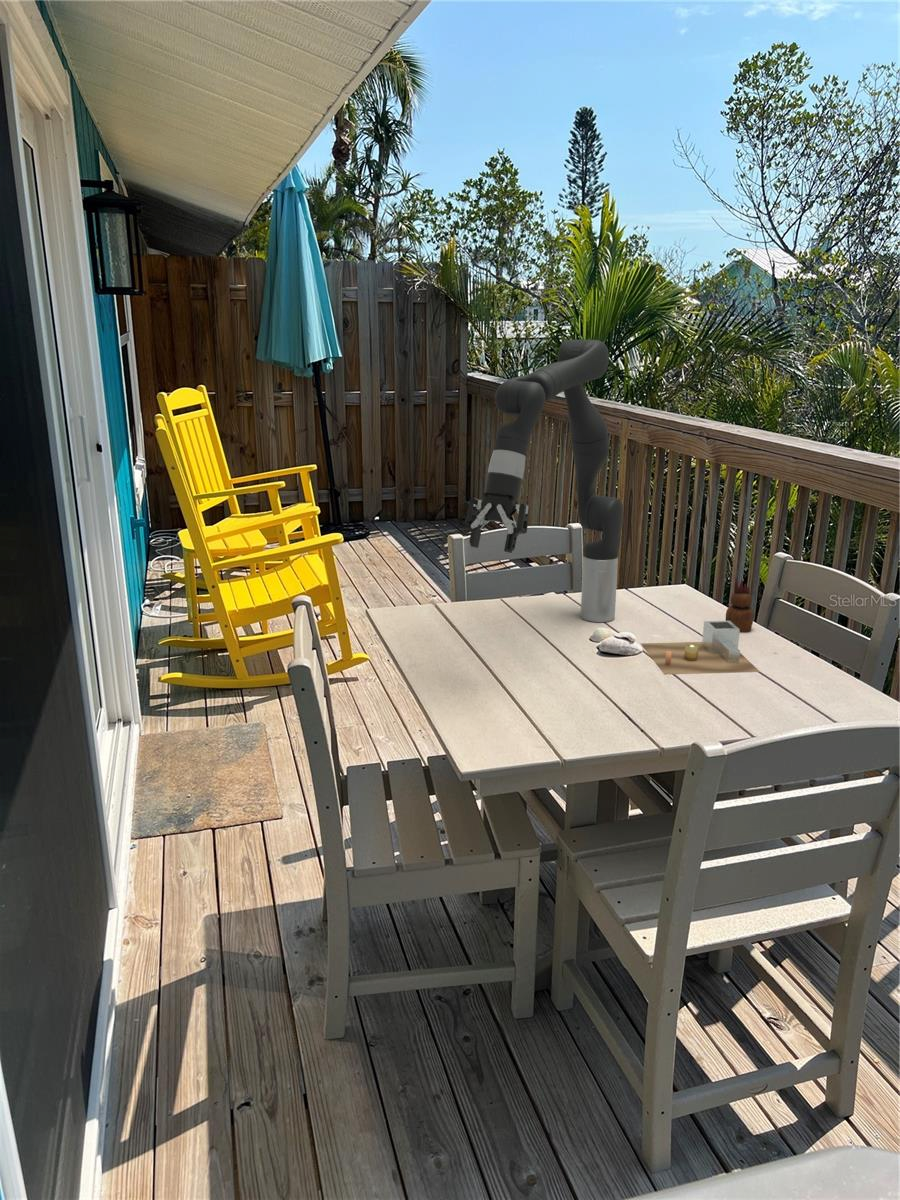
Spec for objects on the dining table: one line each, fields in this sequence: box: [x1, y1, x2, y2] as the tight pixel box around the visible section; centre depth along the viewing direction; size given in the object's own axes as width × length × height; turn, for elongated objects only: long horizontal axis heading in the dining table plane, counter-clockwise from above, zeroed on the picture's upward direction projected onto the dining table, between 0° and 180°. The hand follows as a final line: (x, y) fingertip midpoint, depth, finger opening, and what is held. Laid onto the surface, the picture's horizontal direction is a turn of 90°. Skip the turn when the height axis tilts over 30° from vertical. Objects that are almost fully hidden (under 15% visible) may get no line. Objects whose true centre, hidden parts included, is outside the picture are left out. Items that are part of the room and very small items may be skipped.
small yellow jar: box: [684, 641, 699, 661], centre depth 207 cm, size 3×3×4 cm
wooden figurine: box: [725, 577, 755, 633], centre depth 226 cm, size 7×6×15 cm
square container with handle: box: [701, 620, 741, 663], centre depth 210 cm, size 12×6×6 cm, turn 4°
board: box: [640, 641, 761, 676], centre depth 209 cm, size 20×22×2 cm
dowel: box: [665, 651, 672, 665], centre depth 204 cm, size 1×1×3 cm
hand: (490, 549), depth 188 cm, fingers open, 8 cm apart
